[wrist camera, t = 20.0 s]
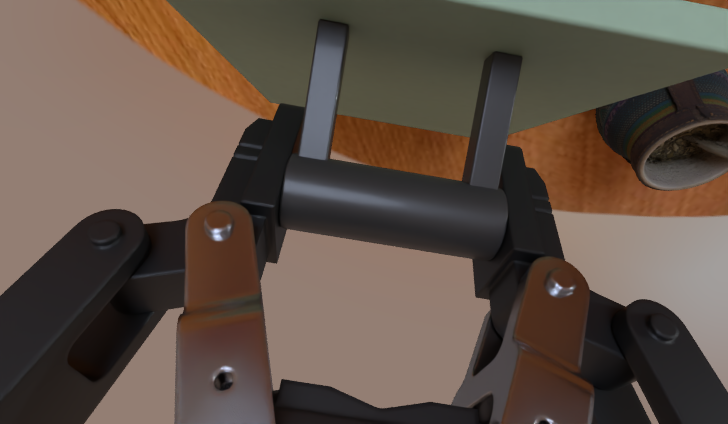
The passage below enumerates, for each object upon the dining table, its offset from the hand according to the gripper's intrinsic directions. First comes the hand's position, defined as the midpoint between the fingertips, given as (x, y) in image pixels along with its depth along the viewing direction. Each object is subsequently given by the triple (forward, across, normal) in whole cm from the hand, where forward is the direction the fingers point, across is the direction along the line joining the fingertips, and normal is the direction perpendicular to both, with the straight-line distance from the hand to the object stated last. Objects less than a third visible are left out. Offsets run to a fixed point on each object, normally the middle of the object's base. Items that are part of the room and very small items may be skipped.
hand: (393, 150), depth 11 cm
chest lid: (+4, 0, 0) cm, 4 cm away
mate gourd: (+18, -18, +5) cm, 26 cm away
